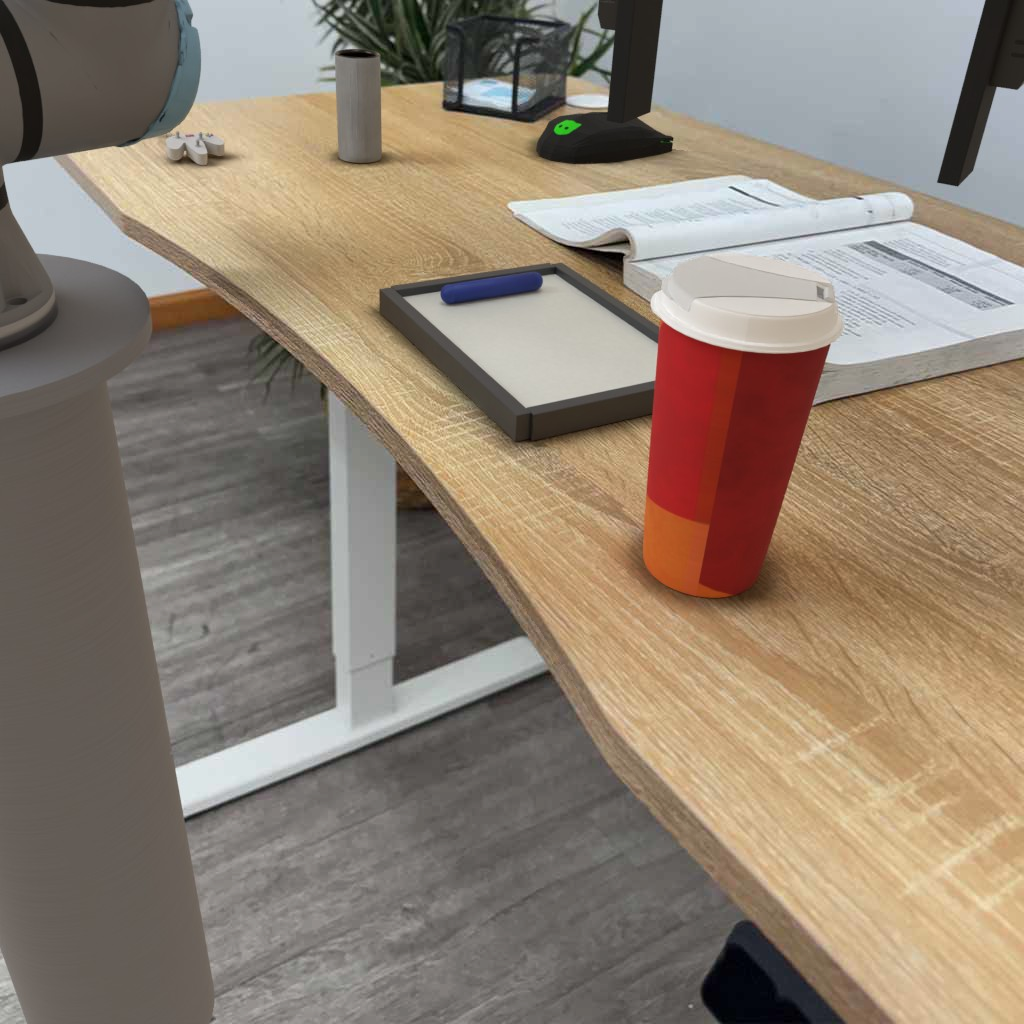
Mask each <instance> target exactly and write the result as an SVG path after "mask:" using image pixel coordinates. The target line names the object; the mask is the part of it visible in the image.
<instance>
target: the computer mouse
mask: <svg viewBox="0 0 1024 1024" xmlns="http://www.w3.org/2000/svg"><path fill="white" fill-rule="evenodd" d="M607 112H608V111H590V112H589V111H588V112H586V113H585V112H583V113H582V112H579V113H572V114H565V115H559V116H557V117H555V118H553V119H551V120H549V121H548V122H547V124H546V126H545V128H544V130H543V131H542V133H541V134H540V136H539V138H538V140H537V142H536V150H535V151H536V153H537V155H538V157H541V158H544V159H546V160H548V161H554V162H559V163H566V164H573V165H577V164H579V165H580V164H581V165H583V164H603V163H614V162H615V163H616V162H625V161H630V160H635V159H642V158H647V157H651V156H657V155H661V154H665V153H669V152H672V151H673V147H674V139H675V138H674V137H673V136H672V135H668V134H664V133H662V132H661V131H659V130H657V129H655V128H653V127H652V126H650V125H649V124H647V123H646V122H644V121H643V120H641V119H640V118H639V117H637V118H635V119H633V120H630V121H628V122H625V123H617V122H612V121H607Z"/></svg>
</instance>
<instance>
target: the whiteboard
mask: <svg viewBox="0 0 1024 1024" xmlns="http://www.w3.org/2000/svg"><path fill="white" fill-rule="evenodd" d="M378 293H379V295H378V296H379V298H378V299H379V313H380V314H381V315H382V316H383V317H384V318H385V319H387V321H389V322H390V323H391V325H392V326H394V327H395V328H396V329H397V330H398V332H400V333H401V334H402V335H403V336H404V337H405V338H406V339H407V340H408V341H409V342H410V343H411V344H412V345H414V346H415V347H416V348H417V349H418V350H419V351H420V352H421V353H422V354H423V355H424V356H425V357H426V358H427V359H428V360H429V361H430V362H431V363H432V364H433V365H434V366H436V367H437V368H438V369H439V371H440V372H442V374H444V375H445V376H446V377H447V378H448V379H449V380H450V381H451V382H452V383H453V384H454V385H455V386H456V387H457V388H459V390H460V391H462V393H464V395H465V396H467V397H468V398H469V399H470V400H471V401H472V402H473V403H474V404H475V405H476V406H477V408H479V409H480V410H481V411H483V413H484V414H485V415H487V416H488V418H490V419H491V420H492V421H493V422H494V423H495V424H496V425H497V426H498V427H499V428H500V429H501V430H502V431H503V432H504V433H506V435H507V436H508V437H509V438H510V439H512V440H513V442H515V443H517V442H522V441H526V440H529V439H530V440H531V441H533V442H534V441H538V440H542V439H546V438H551V437H555V436H561V435H565V434H568V433H573V432H578V431H582V430H587V429H592V428H595V427H600V426H604V425H609V424H612V423H617V422H622V421H627V420H630V419H635V418H639V417H644V416H648V415H652V414H653V401H654V389H655V377H656V364H657V352H658V339H659V327H660V325H659V326H658V324H656V323H655V322H653V321H651V320H650V319H649V318H646V317H645V316H644V315H642V314H641V313H639V312H638V311H636V310H635V309H633V308H632V307H630V306H629V305H628V304H626V303H624V302H623V301H621V300H620V299H618V298H616V297H615V296H614V295H612V294H611V293H609V292H607V291H606V290H605V289H603V288H601V287H600V286H599V285H597V284H595V283H594V282H592V281H591V280H589V279H588V278H587V277H585V276H583V275H582V274H580V273H579V272H577V271H576V270H574V269H573V268H571V267H569V266H568V265H567V264H565V263H563V262H556V263H551V262H545V263H538V264H531V265H525V266H524V265H523V266H518V267H517V266H516V267H510V268H504V269H497V270H490V271H484V272H476V273H470V274H462V275H455V276H449V277H442V278H436V279H435V278H434V279H428V280H421V281H415V282H408V283H401V284H393V285H390V287H383V288H379V292H378Z"/></svg>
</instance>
